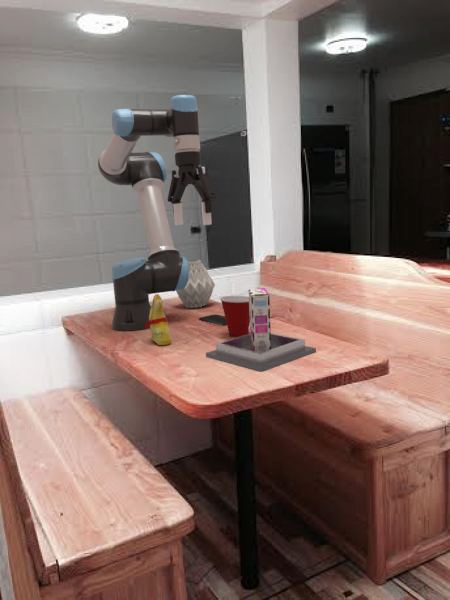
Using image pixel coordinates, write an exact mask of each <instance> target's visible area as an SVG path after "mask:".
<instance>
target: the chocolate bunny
mask: <svg viewBox="0 0 450 600" xmlns="http://www.w3.org/2000/svg"><path fill="white" fill-rule="evenodd" d="M152 298H153V299H152V305H150V306H151V309H150V313H149V321H147V323H146V324H145V327H146V328H145V329H146V330H148V329H150V333H151V334H150V335H151V339H152V341H153V342H155V343H156V344H157V345H158V346H168V345H170V344H171V343H172V338H171V335H170V334H171V332H170V329H169V324H168V317H166V314H165V311H164V308H163V307H164V306H163V305H164V304H163V303H164V302H163V299H162V297H161V295H160V293H154V295H153V297H152ZM149 324H150V327H149ZM148 327H149V328H148Z"/></svg>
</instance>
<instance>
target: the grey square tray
mask: <svg viewBox="0 0 450 600" xmlns="http://www.w3.org/2000/svg"><path fill="white" fill-rule="evenodd" d="M316 351H317V349H316V347H313V346H307V345H306V339H303V338H298V337H293V336H289V335H285V334H284V335H283V334H279V333H278V334H277V333H274V332H273V333H272V332H271V349H270V350H267V351H264V352H261V353H259V352H255V351H252V347H251V337H250V333H248V334H246V335H243V336H240V337H232V338H230V339H226V340H223V341H220V342H217V343H215V350H211V351H207V352H206V353H205V357H206V358H210V359H214V360H217V361H221V362H224V363H228V364H231V365H235V366H239V367H242V368H246V369H249V370H254V371H257V372H264V371H267V370H270V369H273V368H275V367H278V366H281V365H283V364H287V363H288V362H292V361H294V360H297V359H300V358H303V357H305V356H308V355H310V354H311V355H312V354H313V353H316Z"/></svg>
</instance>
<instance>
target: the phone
mask: <svg viewBox="0 0 450 600" xmlns="http://www.w3.org/2000/svg"><path fill="white" fill-rule="evenodd" d="M198 320H199V321H200V320H201V322H204V321H205V322H204V323H208V322H209V324H212V323H213V324H212V325H217V326H220V327H226V326H227V324H226V319H225V315H220V314H217V313H216V314H215V313H214V314H210V315H205V316H202V317H201V316H200V317H198Z"/></svg>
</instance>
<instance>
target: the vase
mask: <svg viewBox="0 0 450 600" xmlns="http://www.w3.org/2000/svg"><path fill="white" fill-rule="evenodd" d="M187 261H188V265H189V278H188V283H187V285H186V287H185V288H184V289H181V290H176V291H175V292H176V294H177V296H178V298H179V299H180V301H181V302H182V303H183V304H184V307H185V308H187V309H198V308H199V307H201V308H203V307H202V306H205V305H206V306H207V305H208V302H209V301H210V299H211V297H212V293H213V292H214V288H215V286H216V284H215V282H214V280H213V278H212V277H211V276H210V274H209V271H208V269H207V268H206V266H204V264H203V262H202V260H201V259H190V260H187ZM206 306H205V307H206ZM197 307H198V308H197Z"/></svg>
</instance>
